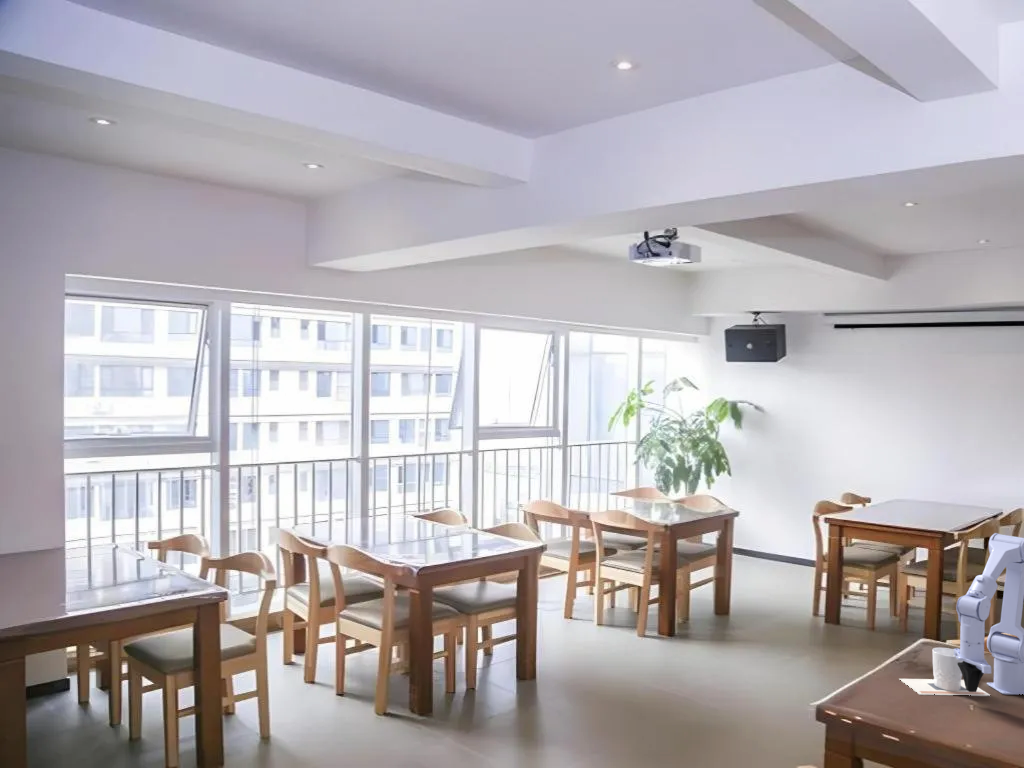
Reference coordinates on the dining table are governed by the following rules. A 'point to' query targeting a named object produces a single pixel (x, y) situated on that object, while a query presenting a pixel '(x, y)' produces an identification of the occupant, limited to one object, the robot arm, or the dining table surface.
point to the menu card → (930, 689)
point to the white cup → (946, 669)
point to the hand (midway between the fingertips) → (971, 690)
